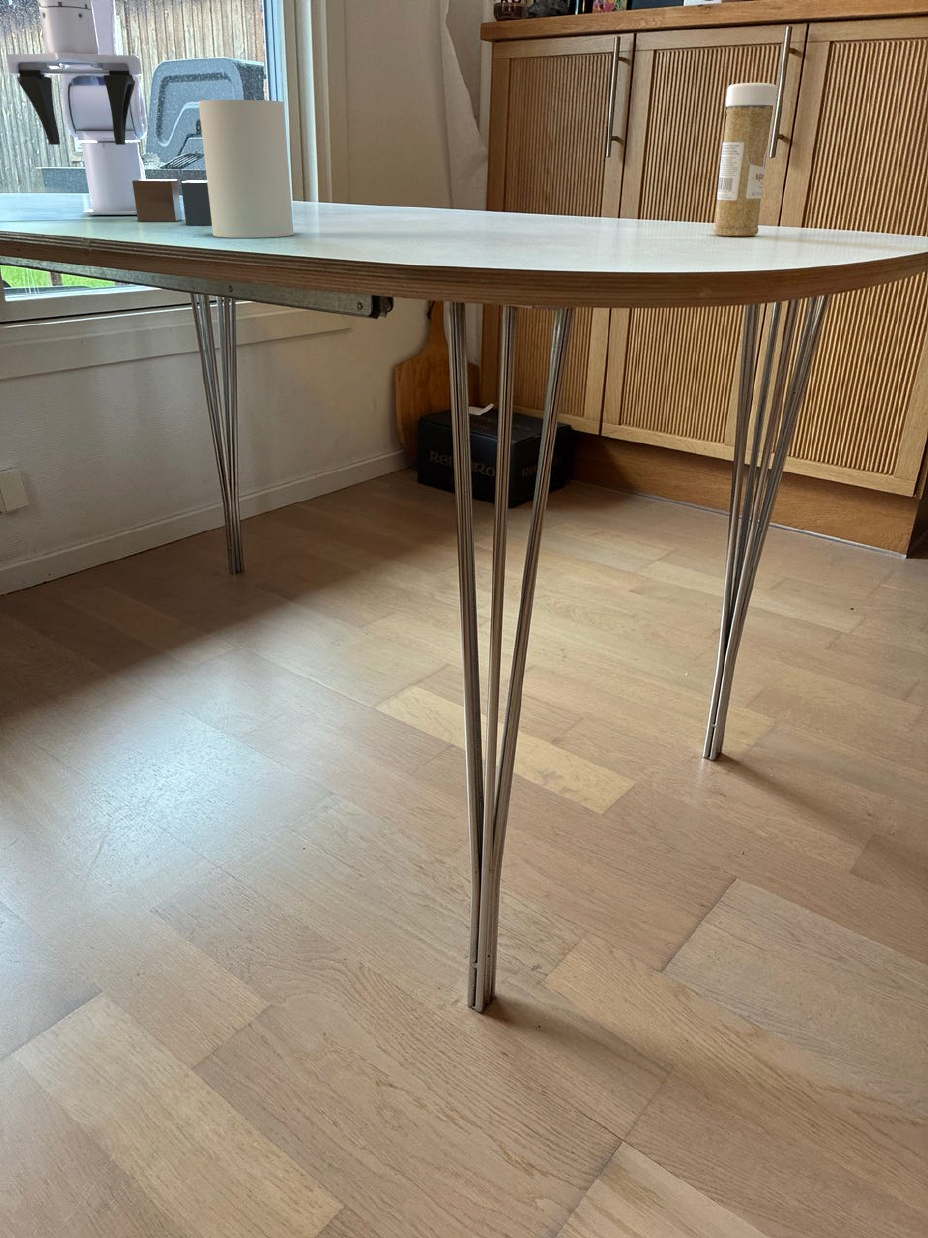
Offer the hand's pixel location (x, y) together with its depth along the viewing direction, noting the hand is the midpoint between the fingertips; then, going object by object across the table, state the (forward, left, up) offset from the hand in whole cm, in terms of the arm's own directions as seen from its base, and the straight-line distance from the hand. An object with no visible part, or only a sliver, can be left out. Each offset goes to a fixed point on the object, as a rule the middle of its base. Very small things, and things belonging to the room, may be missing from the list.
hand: (87, 144), depth 112 cm
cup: (+24, +21, -9) cm, 33 cm away
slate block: (+6, +14, -9) cm, 18 cm away
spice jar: (+30, +70, -9) cm, 77 cm away
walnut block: (-1, +7, -9) cm, 11 cm away
